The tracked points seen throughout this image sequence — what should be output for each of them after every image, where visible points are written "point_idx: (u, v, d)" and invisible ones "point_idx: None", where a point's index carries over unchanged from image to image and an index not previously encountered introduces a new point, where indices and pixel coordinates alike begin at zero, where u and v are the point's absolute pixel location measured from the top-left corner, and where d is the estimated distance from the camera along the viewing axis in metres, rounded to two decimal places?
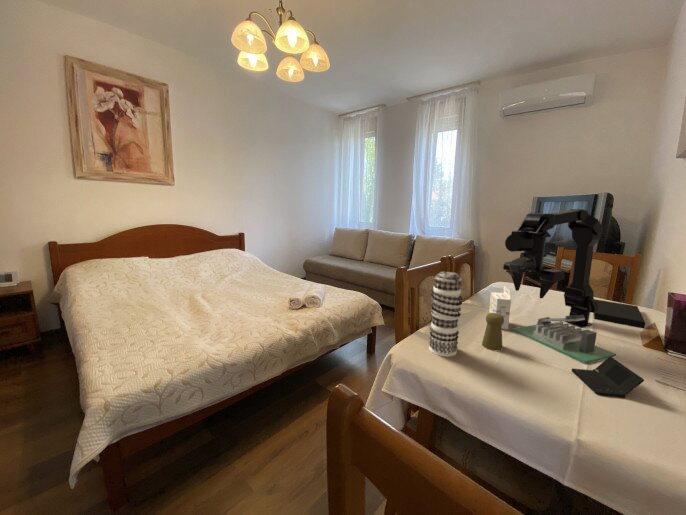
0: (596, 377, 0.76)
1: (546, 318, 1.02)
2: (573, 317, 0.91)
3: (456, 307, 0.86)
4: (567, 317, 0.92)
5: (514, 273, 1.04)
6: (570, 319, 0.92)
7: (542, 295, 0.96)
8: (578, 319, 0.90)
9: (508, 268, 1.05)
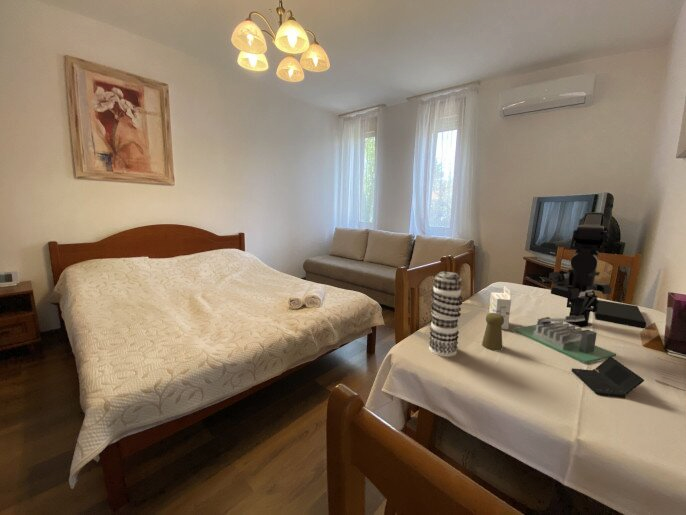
0: (596, 377, 0.76)
1: (546, 318, 1.02)
2: (573, 317, 0.91)
3: (456, 307, 0.86)
4: (567, 317, 0.92)
5: None
6: (570, 319, 0.92)
7: (575, 312, 0.91)
8: (578, 319, 0.90)
9: None
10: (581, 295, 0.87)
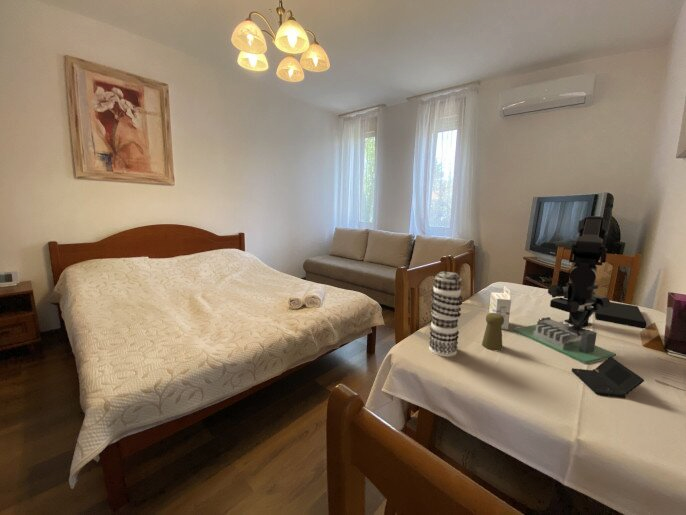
0: (596, 377, 0.76)
1: (547, 319, 1.01)
2: (575, 331, 0.90)
3: (456, 307, 0.86)
4: (569, 329, 0.92)
5: None
6: (571, 332, 0.91)
7: (574, 325, 0.92)
8: None
9: None
10: (580, 308, 0.88)
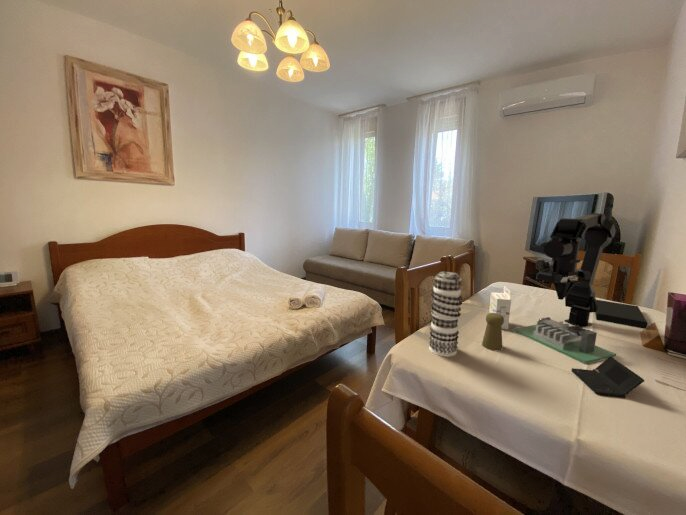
0: (596, 377, 0.76)
1: (547, 319, 1.01)
2: (575, 331, 0.90)
3: (456, 307, 0.86)
4: (569, 329, 0.92)
5: None
6: (571, 332, 0.91)
7: (558, 296, 1.01)
8: None
9: None
10: (563, 280, 0.97)
